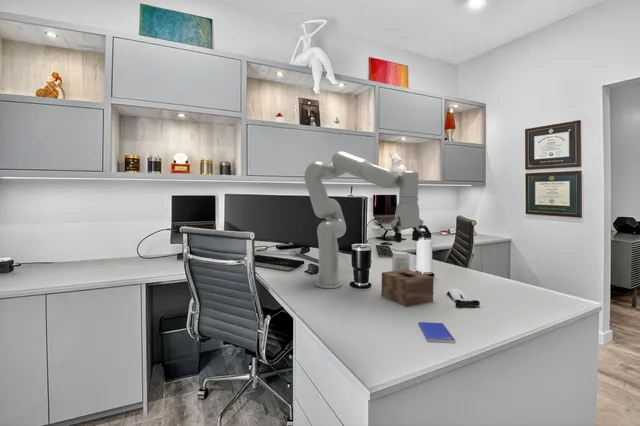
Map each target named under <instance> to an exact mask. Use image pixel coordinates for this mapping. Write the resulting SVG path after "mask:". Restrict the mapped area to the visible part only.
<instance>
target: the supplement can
mask: <svg viewBox="0 0 640 426" xmlns="http://www.w3.org/2000/svg"><path fill="white" fill-rule="evenodd" d="M410 259H411V257H410V254H409V252H406V251H394V252H393V254H392V267H391V268H392V269H391V271H396V270H403V269H407V270H410V269H411V268H410V266H411V265H410V264H411V263H410V262H411V260H410Z"/></svg>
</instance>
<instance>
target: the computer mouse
mask: <svg viewBox="0 0 640 426" xmlns="http://www.w3.org/2000/svg"><path fill="white" fill-rule="evenodd" d="M446 297H448V298H449V299H451V300H452V301H453V302H454V304H455V307H456V308H465V307H466V308H470V309H471V308H479V306H480V304H481V302H480V301H479V300H477V299H476V300H470V299H469V297H468V296H467V294H466V293H465V292H464V291H462V290H461V289H458V288H452V289H449V290H448V291H447V292H446Z"/></svg>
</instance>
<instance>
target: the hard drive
mask: <svg viewBox="0 0 640 426" xmlns="http://www.w3.org/2000/svg"><path fill="white" fill-rule="evenodd" d="M417 323H418V327H419V329H420V331H421V332H422V335H423V336H424V339H425V340H426V342H427V343H429V342H430V343H445V344H447V343H449V344H450V343H452V344H455V343H456V339H455V338H454V337H453V335H452V334H451V333H450V331H449V330H448V328H447V327H446V326H445V324H444V323H442V322H426V321H425V322H424V321H420V322H419V321H418V322H417Z"/></svg>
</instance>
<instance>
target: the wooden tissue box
mask: <svg viewBox="0 0 640 426" xmlns="http://www.w3.org/2000/svg"><path fill="white" fill-rule="evenodd" d="M434 279H435V277H433V276H431V275H427V274H424V273H420V272H417V271H413V270H410V269H409V270H407V269H403V270H396V271H392V270H391V271H390V270H389V271H382V272H381V293H380V294H381V296H382V297H385V298H387V299H389V300H392V301H393V302H397V303H399V304H401V305H403V306H405V307H411V306H417V305H421V304H426V303H430V302H434V282H435V281H434Z"/></svg>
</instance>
